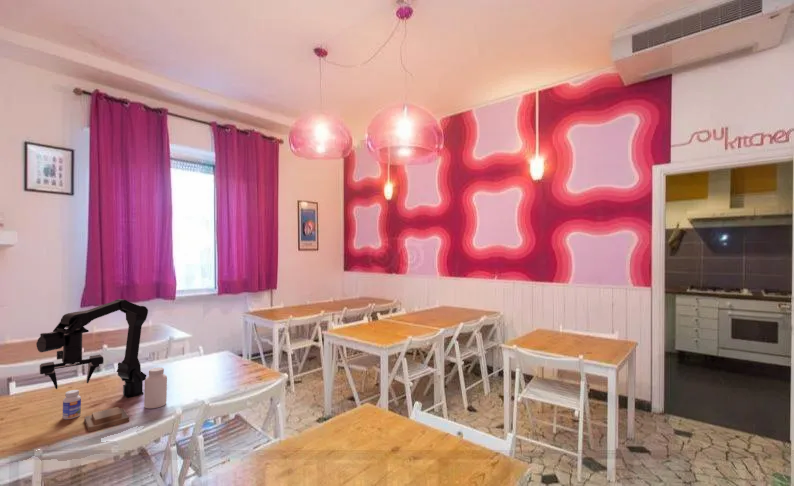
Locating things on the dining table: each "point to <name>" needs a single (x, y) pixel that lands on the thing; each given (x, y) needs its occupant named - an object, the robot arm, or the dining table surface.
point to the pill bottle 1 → (71, 405)
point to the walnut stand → (106, 418)
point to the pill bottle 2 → (155, 388)
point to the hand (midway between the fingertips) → (72, 385)
